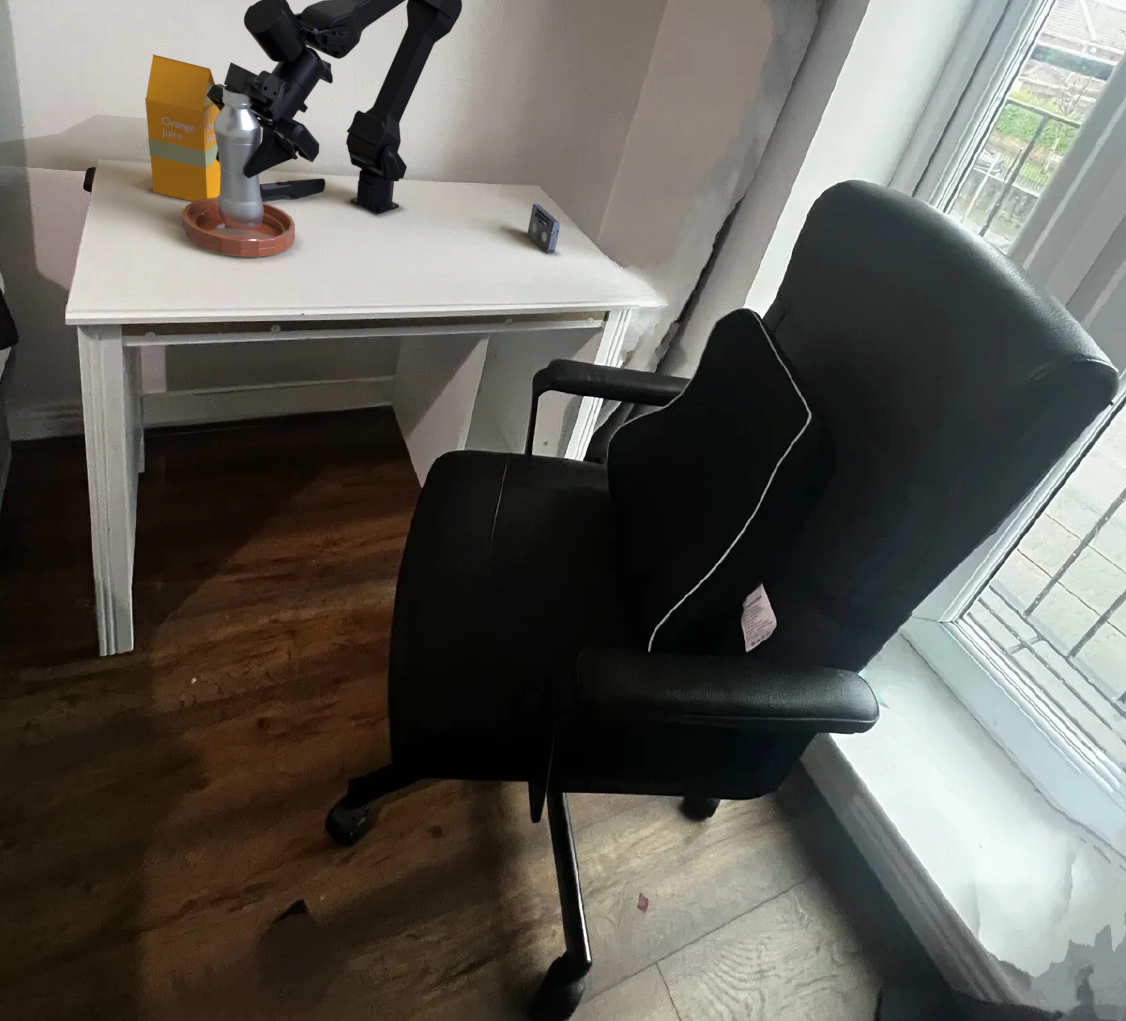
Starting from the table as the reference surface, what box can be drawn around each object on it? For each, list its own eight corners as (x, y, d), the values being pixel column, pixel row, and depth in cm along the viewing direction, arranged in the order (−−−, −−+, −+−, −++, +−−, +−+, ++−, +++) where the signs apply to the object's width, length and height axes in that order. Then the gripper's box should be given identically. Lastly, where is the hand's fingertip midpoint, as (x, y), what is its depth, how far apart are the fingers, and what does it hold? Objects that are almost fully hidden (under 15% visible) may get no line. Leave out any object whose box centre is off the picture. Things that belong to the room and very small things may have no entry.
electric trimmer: (329, 199, 149) (330, 181, 147) (252, 206, 139) (252, 188, 137) (317, 191, 151) (318, 173, 149) (239, 198, 140) (239, 179, 138)
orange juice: (207, 205, 135) (201, 74, 123) (152, 192, 134) (140, 59, 122) (224, 189, 141) (220, 63, 129) (172, 177, 140) (162, 49, 128)
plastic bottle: (271, 232, 129) (270, 97, 116) (229, 236, 125) (223, 97, 112) (253, 215, 132) (250, 82, 120) (211, 218, 128) (203, 81, 115)
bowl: (239, 207, 137) (239, 189, 136) (315, 243, 134) (316, 225, 132) (159, 229, 125) (158, 209, 123) (240, 269, 121) (240, 250, 120)
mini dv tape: (554, 253, 153) (561, 222, 149) (547, 253, 152) (554, 222, 148) (533, 234, 158) (540, 203, 154) (527, 234, 157) (533, 203, 153)
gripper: (214, 22, 118) (152, 110, 117) (306, 64, 112) (242, 157, 111) (259, 78, 129) (203, 159, 128) (345, 119, 123) (287, 204, 122)
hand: (231, 168), depth 122 cm, fingers closed on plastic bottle, 6 cm apart
